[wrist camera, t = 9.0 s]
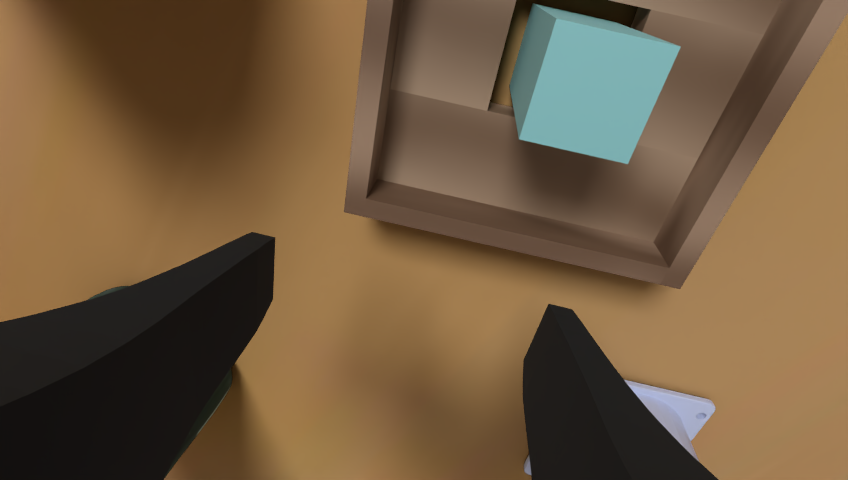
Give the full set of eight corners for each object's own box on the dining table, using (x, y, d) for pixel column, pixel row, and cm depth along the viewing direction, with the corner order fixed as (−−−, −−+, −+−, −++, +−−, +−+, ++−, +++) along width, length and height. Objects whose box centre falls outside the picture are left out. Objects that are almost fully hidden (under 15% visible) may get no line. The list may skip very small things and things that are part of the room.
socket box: (652, 244, 21) (679, 289, 18) (364, 178, 21) (344, 212, 18) (849, -126, 14) (947, -153, 11) (417, -220, 14) (397, -273, 11)
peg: (582, 102, 18) (627, 164, 12) (509, 85, 18) (518, 139, 12) (612, 21, 17) (680, 46, 11) (532, 3, 17) (556, 18, 11)
